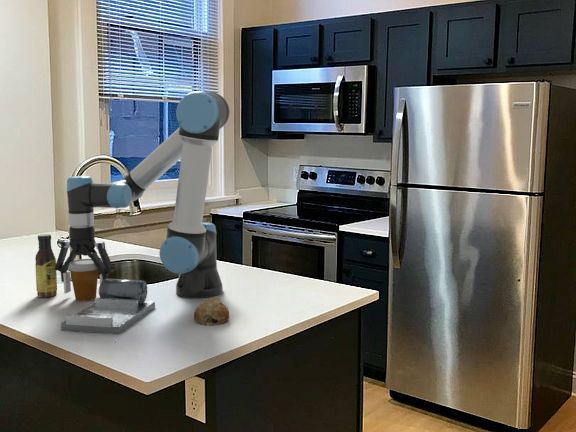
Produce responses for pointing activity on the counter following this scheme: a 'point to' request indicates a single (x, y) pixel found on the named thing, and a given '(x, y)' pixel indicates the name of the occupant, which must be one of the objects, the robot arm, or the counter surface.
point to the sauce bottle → (45, 268)
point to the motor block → (112, 308)
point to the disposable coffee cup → (84, 279)
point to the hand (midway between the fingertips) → (85, 293)
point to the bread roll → (211, 312)
